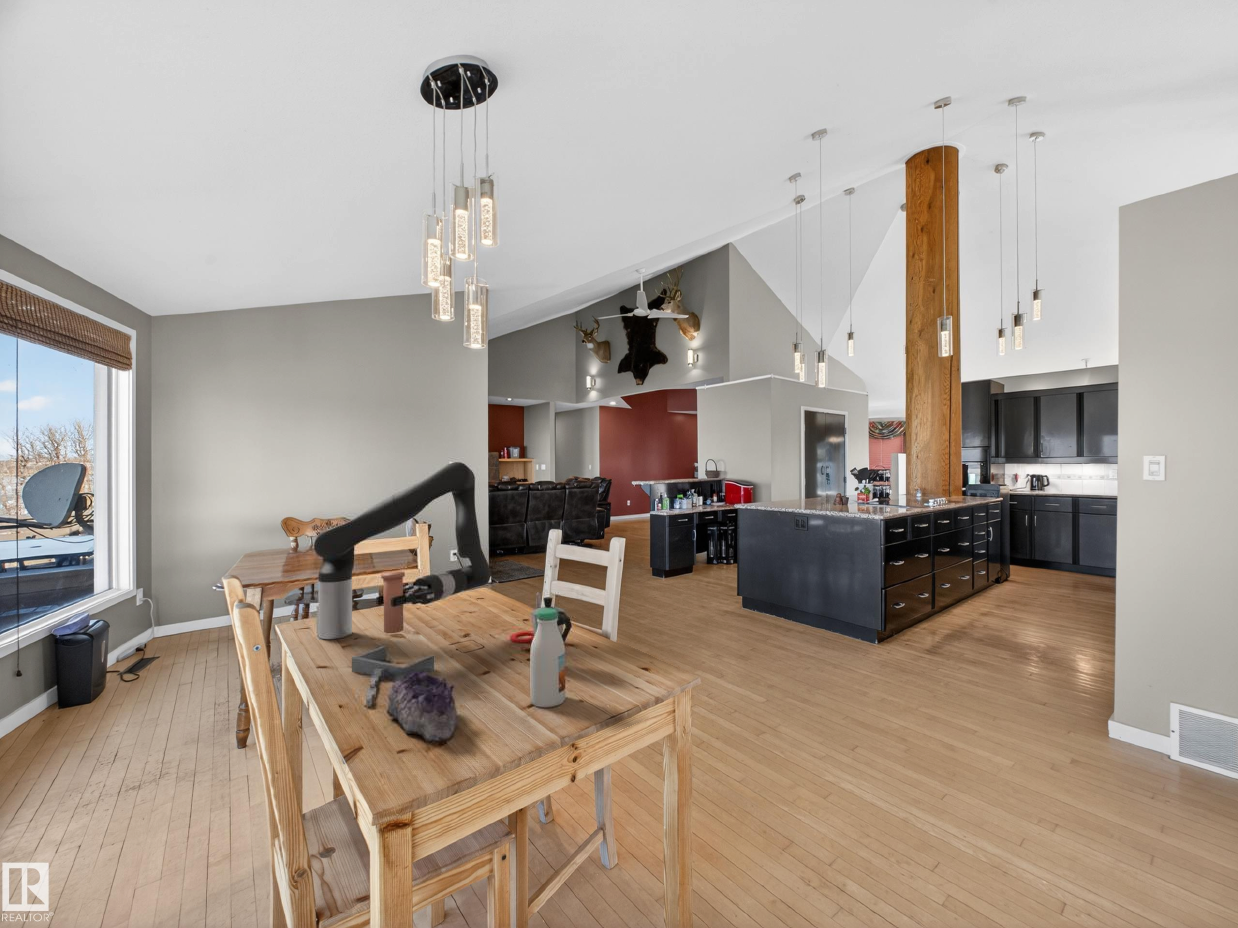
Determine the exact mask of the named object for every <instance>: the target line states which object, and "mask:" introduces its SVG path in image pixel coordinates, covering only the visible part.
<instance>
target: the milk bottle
mask: <svg viewBox="0 0 1238 928" xmlns="http://www.w3.org/2000/svg"><path fill="white" fill-rule="evenodd" d="M537 621H538V628H537V631H536V634H535V636H534V638H533V641H531V645H530V653H529V657H530V658H529V660H530V661H529V671H530V673H529V677H530V678H529V683H530V684H529V687H530V688H529V691H530V694H529V695H530V697H529V698H530V699H529V700H530V703H531V704H532V705H533V706H535V707H538V708H553V707H556V706H559V705H562V704H563V703H564V701H565V699H566V648H565V642H563V639H562V637H561V634H560V632H559V630H558V626H557V621H558V611H557V610H556V609H541V610H539V611H537Z"/></svg>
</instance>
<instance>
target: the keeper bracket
mask: <svg viewBox="0 0 1238 928" xmlns="http://www.w3.org/2000/svg"><path fill="white" fill-rule="evenodd" d="M386 660H387V646H385V645H383V646H380V647H377V648H375V649H372V650H370V651H366V652H364V653H361V654H358V655H355V656H353V657H351V672H352V673H357V674H362V675H366V676H370V677H371V675H376V676H379V681H384V680H388V681H389V680H390V681H393V682H396V681H399V680H404V679H406V678H407V677H408V676H409V675H410V674H412V673H414V672H415V671H416V672H418V673H419V674H424V673H426V672H427V673H429V672H431V671H433V670H435V655H433V654H429V655H428V656H426V657H423V658H421V659H419V660H415V661H413V662H412V663H409V664H407V665H404V666H403V665H398V664H393V663H389V662H385V661H386Z"/></svg>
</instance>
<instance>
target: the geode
mask: <svg viewBox="0 0 1238 928" xmlns="http://www.w3.org/2000/svg"><path fill="white" fill-rule="evenodd" d="M454 688H455V684H451V685H448V682H447V679H446V678H442V679H441V678H440V677H437V676H434V675H431V674H430V673H429V672H426V673H424V674H419V673H418V672H416V671H415V672H414V673H412V674H410V675H409V676H408V677H407V678H406V679H404V680H399V681H393V683H392V685H391V686H390V688H389V689H390V690H389V693H388V694H387V699H388V700H387V710H386V714H387V715H388V716H389V717H391V718H394V719H395V720H397V721H398V724H399V726H401V728H402V729H403V731H404V733H405V734H408V735H416V734H417V735H420V736H422V737H423V739H424V740H425V742H426V743H427V744H432V743H433V744H435V743H445V742H449V741H451V739H452V738H453V737H454V735H455V732H456V731H457V729H458V717H457V712H458V711H457V708H456V702H455V699H454V696H453V690H454Z"/></svg>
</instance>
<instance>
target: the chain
mask: <svg viewBox="0 0 1238 928" xmlns="http://www.w3.org/2000/svg"><path fill="white" fill-rule="evenodd" d="M379 681H380V680H379V676H376V675H371V676H370V678H369V688H367V690H366V694H365V698H366V699H365V703H366V705H365V708H372V704H373V701H374V700H375V699H376V694H377V687H376V686H377V685H379Z"/></svg>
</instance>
